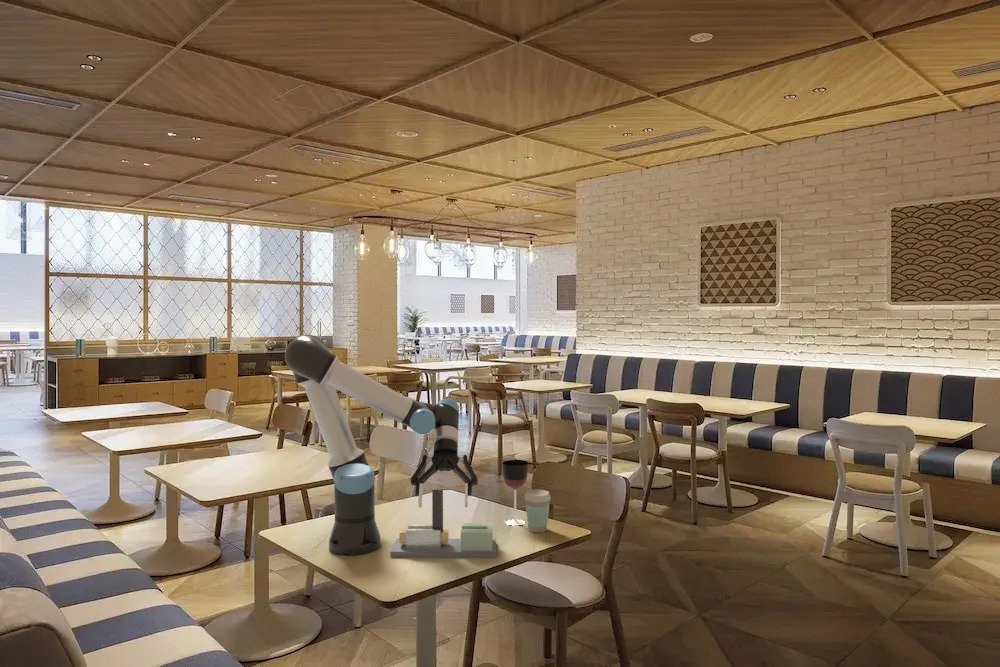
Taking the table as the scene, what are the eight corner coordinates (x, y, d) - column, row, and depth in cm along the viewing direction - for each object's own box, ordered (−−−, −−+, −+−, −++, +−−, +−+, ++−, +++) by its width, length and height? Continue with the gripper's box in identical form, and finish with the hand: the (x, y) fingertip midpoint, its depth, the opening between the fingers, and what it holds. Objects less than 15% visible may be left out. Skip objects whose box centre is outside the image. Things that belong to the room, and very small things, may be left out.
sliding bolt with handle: (399, 543, 194) (399, 491, 193) (401, 539, 197) (400, 488, 196) (447, 543, 193) (447, 491, 193) (448, 539, 197) (448, 488, 196)
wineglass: (498, 520, 222) (498, 461, 221) (522, 517, 225) (522, 458, 224) (507, 528, 215) (507, 466, 214) (532, 524, 218) (532, 464, 217)
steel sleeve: (405, 548, 193) (405, 530, 192) (408, 541, 198) (408, 524, 198) (440, 548, 192) (440, 530, 192) (442, 541, 198) (442, 524, 197)
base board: (390, 557, 190) (390, 551, 190) (396, 543, 201) (396, 538, 201) (495, 557, 189) (495, 552, 189) (496, 543, 200) (496, 538, 200)
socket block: (460, 550, 191) (460, 532, 190) (462, 539, 199) (462, 522, 199) (492, 550, 191) (492, 532, 190) (492, 539, 199) (492, 522, 199)
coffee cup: (551, 525, 217) (551, 489, 216) (550, 534, 208) (550, 496, 208) (524, 525, 218) (524, 488, 217) (523, 533, 209) (523, 496, 209)
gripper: (485, 449, 213) (485, 511, 199) (407, 450, 213) (401, 511, 199) (485, 436, 208) (485, 498, 193) (405, 437, 207) (399, 499, 193)
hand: (442, 505), depth 196 cm, fingers open, 13 cm apart
